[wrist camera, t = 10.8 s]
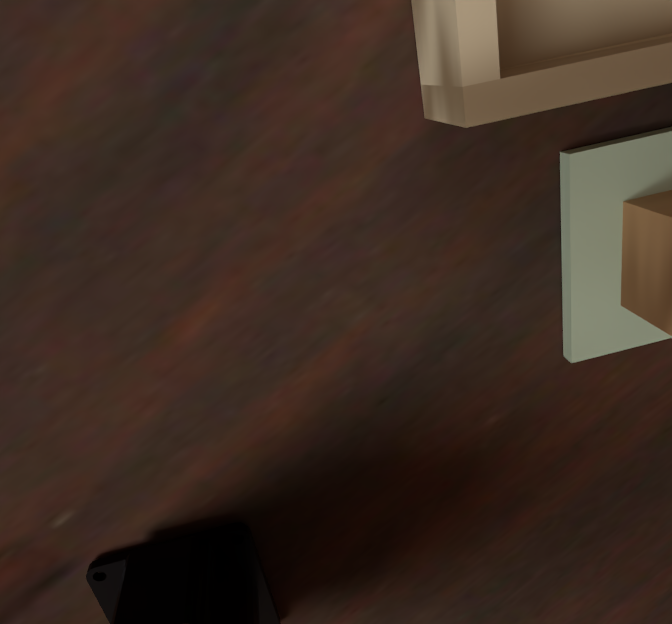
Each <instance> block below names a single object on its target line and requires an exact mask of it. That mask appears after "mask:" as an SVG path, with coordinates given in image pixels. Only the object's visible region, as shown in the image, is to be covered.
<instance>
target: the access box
mask: <svg viewBox="0 0 672 624" xmlns="http://www.w3.org/2000/svg"><path fill="white" fill-rule="evenodd" d="M411 2H412V11H413V19H414V28H415V37H416V46H417V55H418V63H419V72H420V81H421V90H422V98H423V107H424V116H425V118H426V119H430V120H435V121H439V122H443V123H447V124H452V125H456V126H460V127H465V128H467V127H472V126H477V125H481V124H486V123H490V122H495V121H499V120H504V119H508V118H513V117H518V116H522V115H527V114H531V113H536V112H540V111H545V110H549V109H554V108H559V107H563V106H568V105H572V104H577V103H581V102H586V101H590V100H595V99H600V98H604V97H609V96H613V95H618V94H622V93H627V92H631V91H636V90H641V89H645V88H650V87H654V86H659V85H663V84H668V83H672V0H411Z"/></svg>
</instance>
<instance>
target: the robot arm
mask: <svg viewBox="0 0 672 624" xmlns="http://www.w3.org/2000/svg"><path fill="white" fill-rule="evenodd" d="M235 535H241V536H240V537H234V536H235ZM99 572H104V573H99ZM86 578H87V581H88V583H89V585H90V587H91V589H92V591H93V592H94V594H95V596H96V598H97V600H98V602H99V604H100V606H101V608H102V609H103V611H104V613H105V615H106V617H107V619H108V621H109V623H110V624H280V618H279V615H278V612H277V609H276V606H275V603H274V600H273V597H272V594H271V591H270V588H269V585H268V582H267V579H266V576H265V573H264V570H263V567H262V564H261V561H260V559H259V556H258V553H257V550H256V547H255V544H254V541H253V538H252V535H251V532H250V529H249V528H248V526H247V525H245V524H243V523H233V524H229V525H225V526H222V527H218V528H214V529H210V530H207V531H203V532H199V533H195V534H191V535H188V536H184V537H180V538H176V539H173V540H169V541H165V542H161V543H158V544H154V545H150V546H146V547H142V548H139V549H135V550H131V551H127V552H124V553H120V554H116V555H112V556H108V557H105V558H101V559H97V560H95V561H93V562H92V563H91V564H90V565H89V568H88V571H87V575H86Z"/></svg>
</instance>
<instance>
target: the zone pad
mask: <svg viewBox="0 0 672 624" xmlns="http://www.w3.org/2000/svg"><path fill="white" fill-rule="evenodd" d="M560 190H561V248H562V306H563V356H564V357H565V358H566V359H567V360H568V361H570V362H571V363H575V362H579V361H583V360H586V359H590V358H594V357H598V356H602V355H606V354H610V353H614V352H618V351H622V350H626V349H630V348H633V347H637V346H641V345H645V344H649V343H653V342H657V341H661V340H665V339H669V338H672V336H670V335H669V334H667V333H665V332H664V331H662V330H660V329H659V328H657V327H655V326H654V325H652V324H650V323H649V322H647V321H646V320H644V319H642V318H641V317H639V316H637V315H636V314H634V313H632V312H631V311H629V310H627V309H626V308H624V307H622V306H621V269H622V227H623V201H627V200H631V199H636V198H640V197H644V196H648V195H652V194H656V193H660V192H665V191H669V190H672V127H668V128H664V129H659V130H655V131H651V132H646V133H642V134H637V135H633V136H628V137H624V138H619V139H615V140H611V141H606V142H602V143H597V144H593V145H588V146H584V147H580V148H575V149H571V150H566V151H562V152H560Z"/></svg>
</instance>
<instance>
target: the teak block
mask: <svg viewBox="0 0 672 624" xmlns="http://www.w3.org/2000/svg"><path fill="white" fill-rule="evenodd" d="M621 306H622V307H624V308H626V309H627V310H629V311H631V312H632V313H634V314H636V315H637V316H639V317H641V318H642V319H644V320H646V321H647V322H649V323H650V324H652V325H654V326H655V327H657V328H659V329H660V330H662V331H664V332H665V333H667V334H669V335H670V336H672V190H669V191H665V192H660V193H656V194H652V195H648V196H644V197H640V198H636V199H631V200H627V201H623V227H622V269H621Z"/></svg>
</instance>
